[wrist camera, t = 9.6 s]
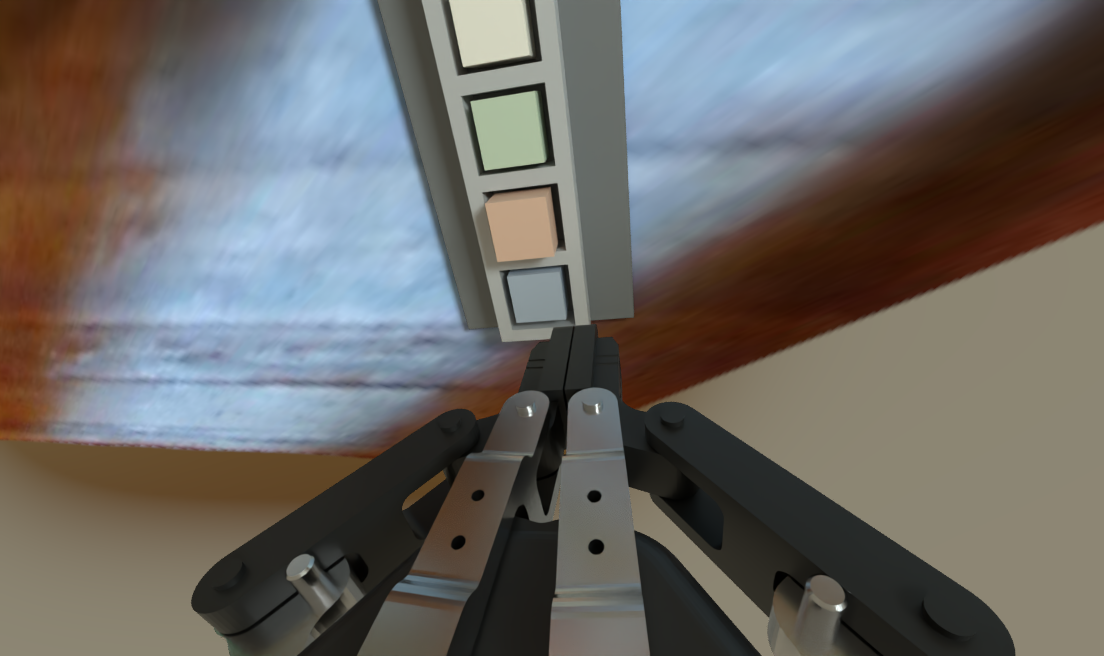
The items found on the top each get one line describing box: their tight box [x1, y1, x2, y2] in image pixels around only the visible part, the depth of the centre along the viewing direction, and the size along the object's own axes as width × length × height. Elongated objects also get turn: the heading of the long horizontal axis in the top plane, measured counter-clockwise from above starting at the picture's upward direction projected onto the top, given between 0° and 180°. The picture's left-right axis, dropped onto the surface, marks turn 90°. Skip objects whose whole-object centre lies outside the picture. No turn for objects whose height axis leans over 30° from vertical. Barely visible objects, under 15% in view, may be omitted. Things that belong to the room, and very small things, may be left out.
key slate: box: [507, 265, 569, 323], centre depth 31 cm, size 4×4×3 cm
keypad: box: [377, 0, 634, 342], centre depth 27 cm, size 14×24×4 cm, turn 8°
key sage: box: [470, 91, 549, 170], centre depth 25 cm, size 4×4×3 cm
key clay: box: [485, 187, 558, 262], centre depth 27 cm, size 4×4×3 cm
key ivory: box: [449, 0, 536, 69], centre depth 23 cm, size 4×4×3 cm
